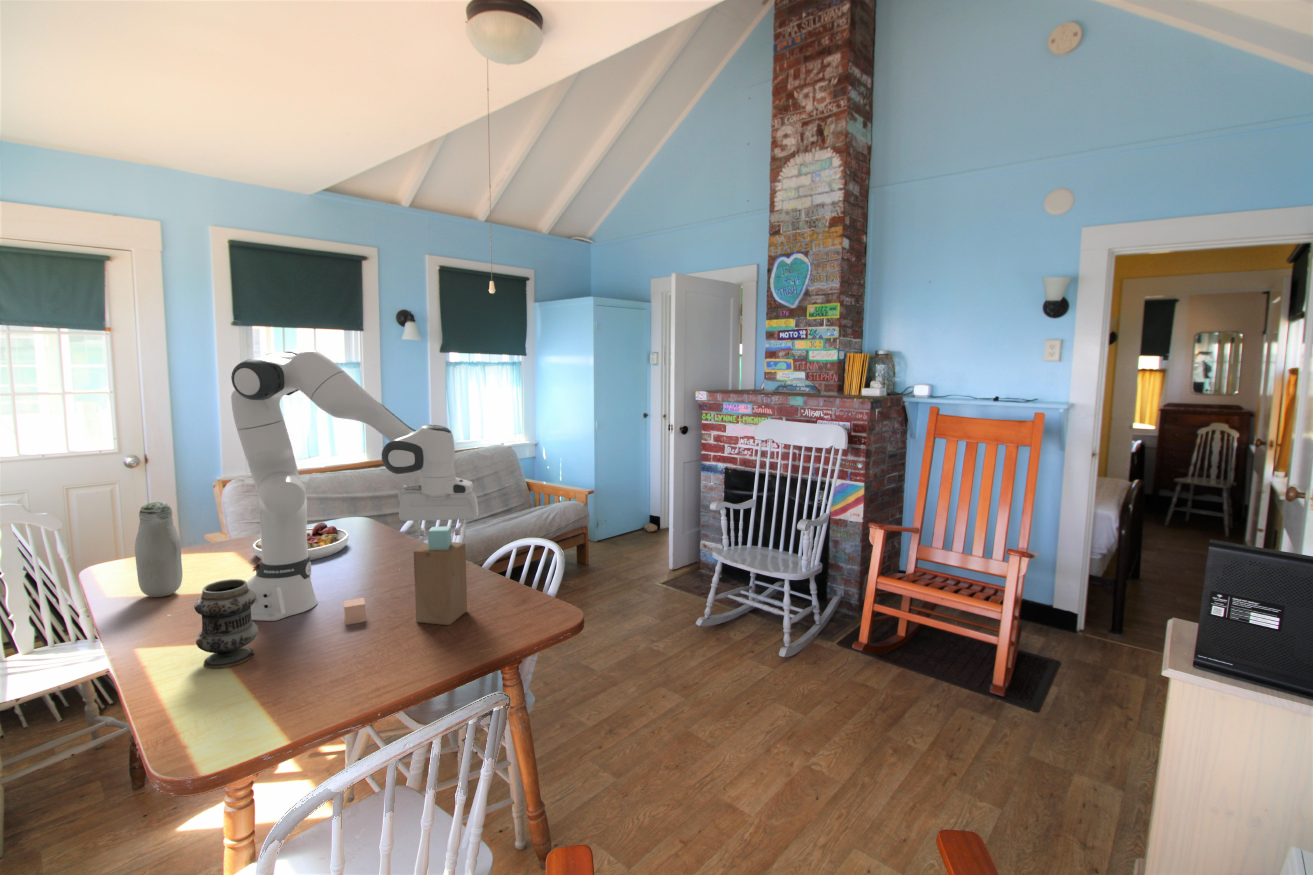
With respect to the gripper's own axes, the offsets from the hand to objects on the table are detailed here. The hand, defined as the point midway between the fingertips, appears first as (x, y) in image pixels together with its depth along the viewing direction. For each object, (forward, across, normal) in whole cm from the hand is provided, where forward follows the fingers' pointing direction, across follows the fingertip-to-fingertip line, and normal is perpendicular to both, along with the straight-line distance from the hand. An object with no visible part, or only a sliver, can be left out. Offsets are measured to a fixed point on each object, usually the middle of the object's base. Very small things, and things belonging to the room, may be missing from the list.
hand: (440, 535), depth 166 cm
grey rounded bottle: (+23, -84, +26) cm, 91 cm away
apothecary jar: (+23, -45, -18) cm, 54 cm away
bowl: (+24, -60, +65) cm, 92 cm away
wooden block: (+23, 0, 0) cm, 23 cm away
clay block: (+23, -23, +1) cm, 33 cm away
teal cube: (+3, 0, 0) cm, 3 cm away
